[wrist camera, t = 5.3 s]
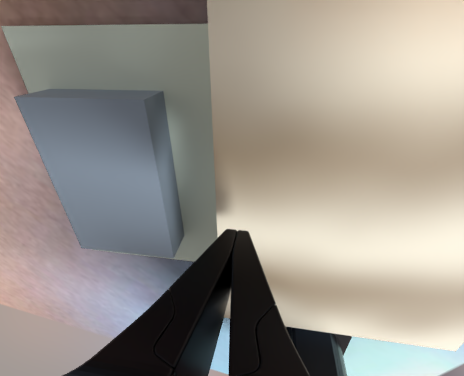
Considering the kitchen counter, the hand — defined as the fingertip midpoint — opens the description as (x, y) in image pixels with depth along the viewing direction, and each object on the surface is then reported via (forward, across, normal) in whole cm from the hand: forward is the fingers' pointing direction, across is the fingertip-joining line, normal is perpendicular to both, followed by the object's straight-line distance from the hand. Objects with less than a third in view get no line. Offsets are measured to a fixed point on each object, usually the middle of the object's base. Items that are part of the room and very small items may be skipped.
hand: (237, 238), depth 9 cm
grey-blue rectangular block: (+3, +7, 0) cm, 8 cm away
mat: (+5, +6, 0) cm, 8 cm away
